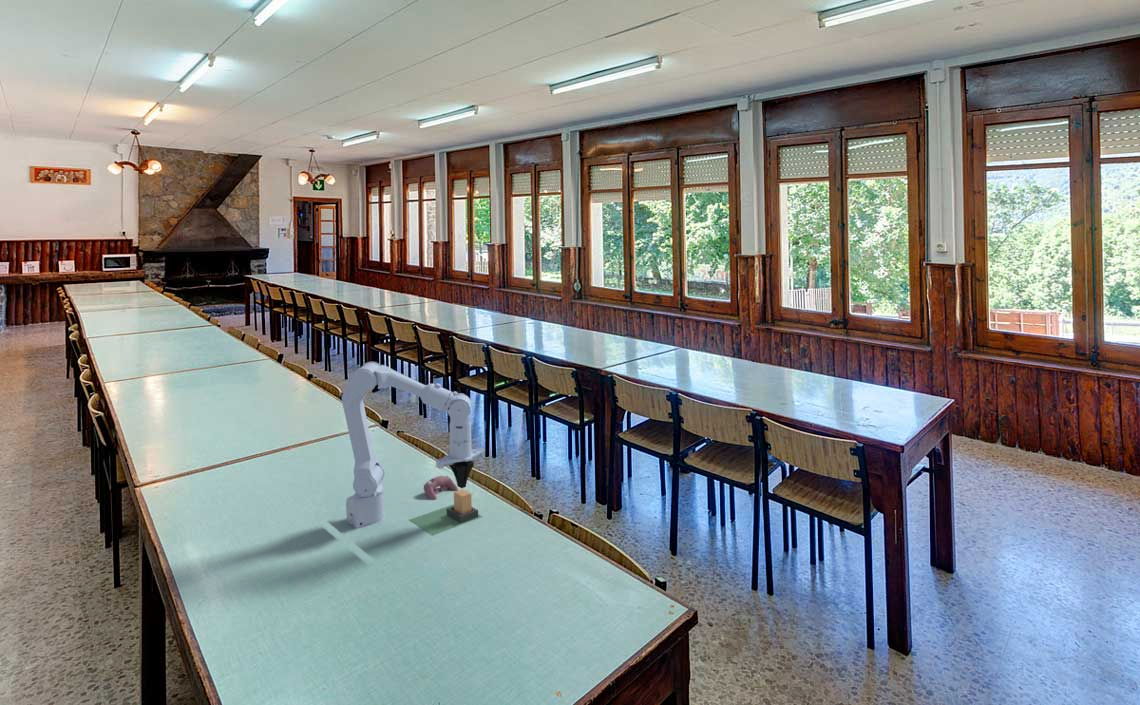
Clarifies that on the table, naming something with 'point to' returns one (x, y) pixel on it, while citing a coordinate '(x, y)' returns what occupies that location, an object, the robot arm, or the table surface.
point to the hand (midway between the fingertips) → (461, 486)
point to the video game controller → (438, 481)
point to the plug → (462, 502)
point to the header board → (444, 519)
